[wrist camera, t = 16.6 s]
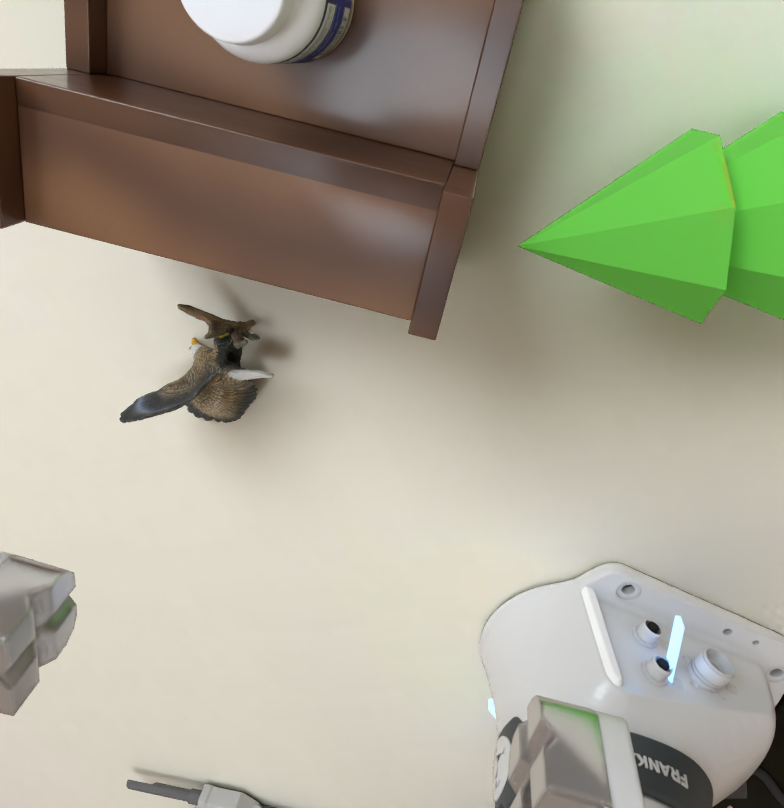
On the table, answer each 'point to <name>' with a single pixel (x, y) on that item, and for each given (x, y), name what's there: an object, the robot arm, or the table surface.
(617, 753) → the robot arm
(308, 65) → the shelf
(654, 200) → the decorative tree
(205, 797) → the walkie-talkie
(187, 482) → the table surface
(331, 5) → the pill bottle
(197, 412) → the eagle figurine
